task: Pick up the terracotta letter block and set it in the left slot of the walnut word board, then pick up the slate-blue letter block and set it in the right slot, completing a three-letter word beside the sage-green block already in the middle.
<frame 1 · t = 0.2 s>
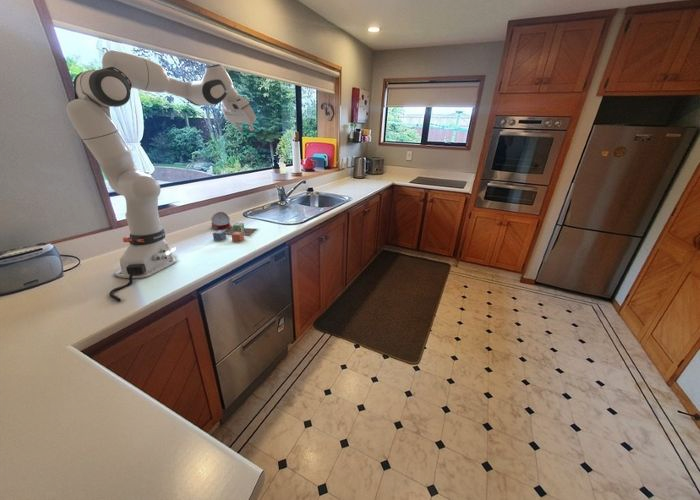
hand: (246, 130, 145), 54 cm above the counter, tool tilted 30°, fingers open, 8 cm apart
word board: (239, 232, 159), on the counter
letter T: (220, 239, 148), on the counter
canned food: (221, 227, 165), on the counter
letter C: (238, 241, 148), on the counter
letter A: (239, 231, 159), point 1 cm above the counter, touching word board
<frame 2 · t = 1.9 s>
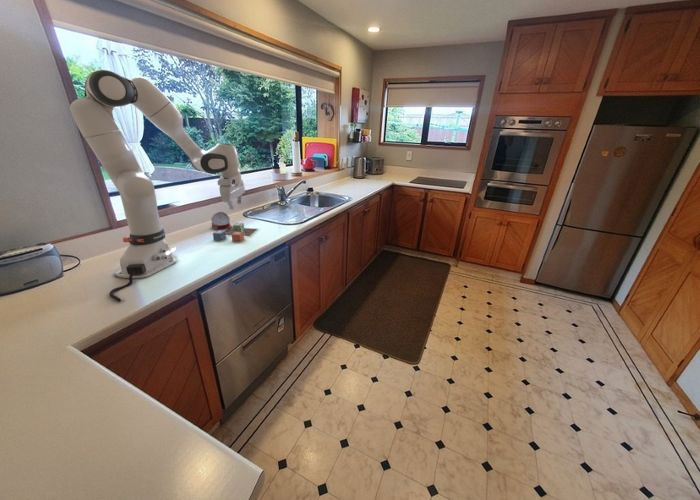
hand: (236, 206, 141), 18 cm above the counter, tool pointing down, fingers open, 8 cm apart
nothing on the counter moved.
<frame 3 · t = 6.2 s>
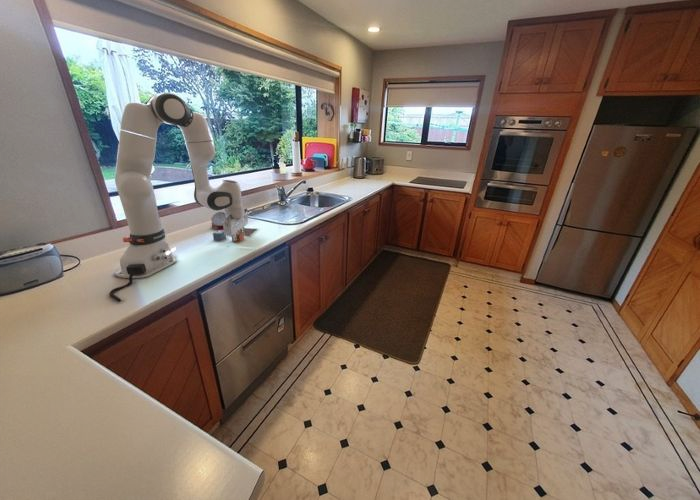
hand: (238, 237, 147), 2 cm above the counter, tool pointing down, fingers closed on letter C, 4 cm apart
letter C: (238, 241, 148), on the counter, touching gripper
everything else where it was.
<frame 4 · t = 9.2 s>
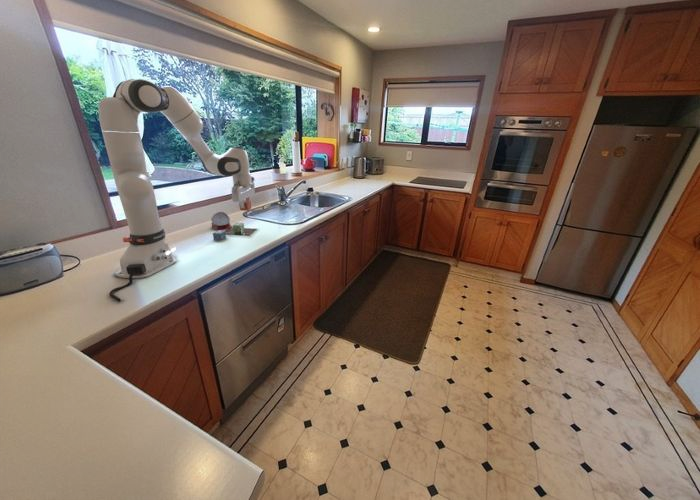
hand: (245, 206, 151), 16 cm above the counter, tool pointing down, fingers closed on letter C, 4 cm apart
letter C: (245, 209, 151), point 14 cm above the counter, touching gripper
everything else where it was.
when the fingers open (2 cm above the counter, at t = 12.6 s): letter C stays where it is, resting on word board.
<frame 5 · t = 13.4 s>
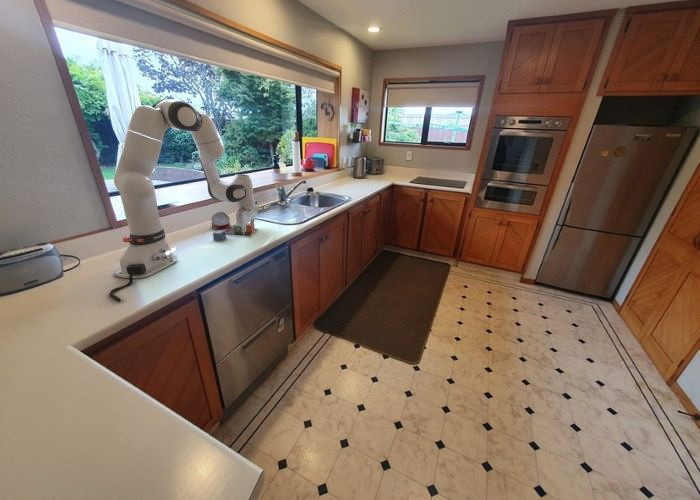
hand: (248, 228, 157), 3 cm above the counter, tool pointing down, fingers open, 8 cm apart
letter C: (249, 232, 158), point 1 cm above the counter, touching word board
everything else where it was.
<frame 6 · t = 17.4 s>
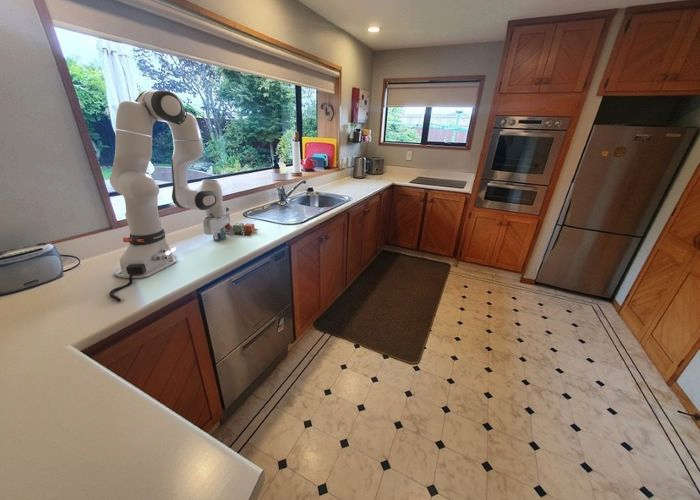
hand: (219, 236, 147), 2 cm above the counter, tool pointing down, fingers closed on letter T, 4 cm apart
letter T: (220, 239, 148), on the counter, touching gripper
everything else where it was.
when the fingers open (2 cm above the counter, at t = 24.0 s): letter T stays where it is, resting on word board.
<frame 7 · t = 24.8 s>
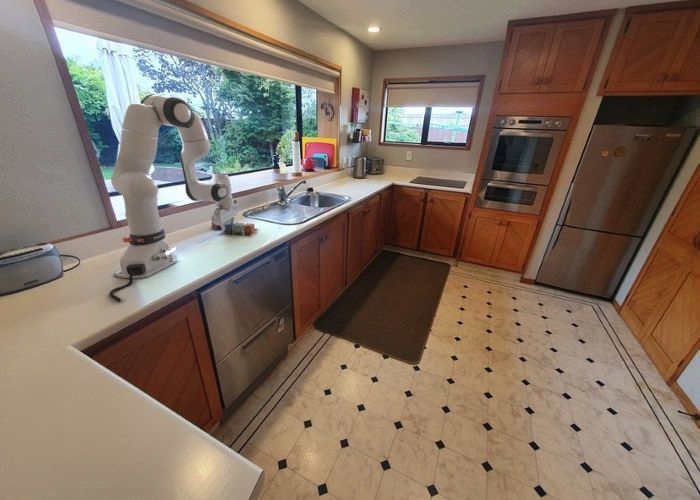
hand: (228, 227, 158), 3 cm above the counter, tool pointing down, fingers open, 8 cm apart
letter T: (229, 230, 159), point 1 cm above the counter, touching word board
everything else where it was.
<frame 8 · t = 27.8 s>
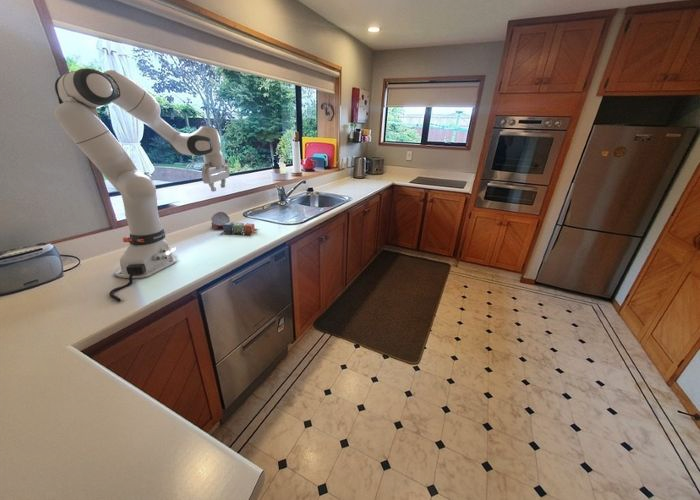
hand: (218, 189, 145), 25 cm above the counter, tool pointing down, fingers open, 8 cm apart
nothing on the counter moved.
at the end: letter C 0.1 cm from the target spot, point 0.6 cm above the counter; letter T 0.2 cm from the target spot, point 0.6 cm above the counter; letter A moved 0.0 cm from its start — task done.
